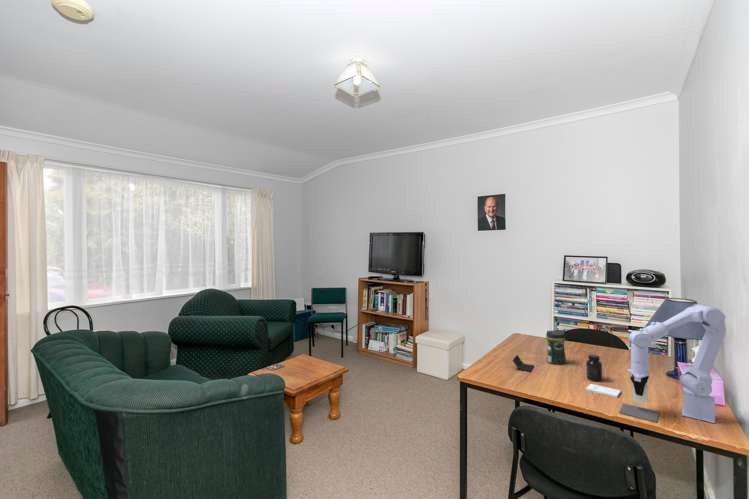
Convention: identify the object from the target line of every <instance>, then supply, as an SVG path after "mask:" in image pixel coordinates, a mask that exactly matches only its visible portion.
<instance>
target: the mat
mask: <svg viewBox="0 0 749 499" xmlns="http://www.w3.org/2000/svg"><path fill="white" fill-rule="evenodd" d="M618 413H619V414H620V415H625V416H629V417H632V418H637V419H641V420H644V421H648V422H653V423H655V422H656V423H658V419H659V414H660V411H659V410H654V409H649V408H646V407H641V406H637V405H634V404H633V405H632V404H628V403H625V402H623V403H622V404H621V408H620V410H619V411H618Z"/></svg>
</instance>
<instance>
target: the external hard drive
mask: <svg viewBox="0 0 749 499" xmlns="http://www.w3.org/2000/svg"><path fill="white" fill-rule="evenodd" d="M585 390H586V391H588V392H592V393H596V394H599V395H604V396H607V397H612V398H614V399H615V398H616V399H617V398H619V396H620V395H621V394H622V390H620V389H616V388H611V387H607V386H603V385H599V384H595V383H594V384H593V383H590V384H588V385H587V386H586V387H585Z"/></svg>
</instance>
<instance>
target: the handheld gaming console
mask: <svg viewBox="0 0 749 499" xmlns="http://www.w3.org/2000/svg"><path fill="white" fill-rule="evenodd" d="M512 363H514V364H515V366H516V367H517V369H518V371H519V370H521V371H520V372H524V371H527V372H526V373H531V372H532V371H533V369H534V368H535V366H534V364H528V363H524V362H523V361H522V359H521V358H520V356H519V355H518V354H516V355H515V356H514V358H513V359H512Z"/></svg>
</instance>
